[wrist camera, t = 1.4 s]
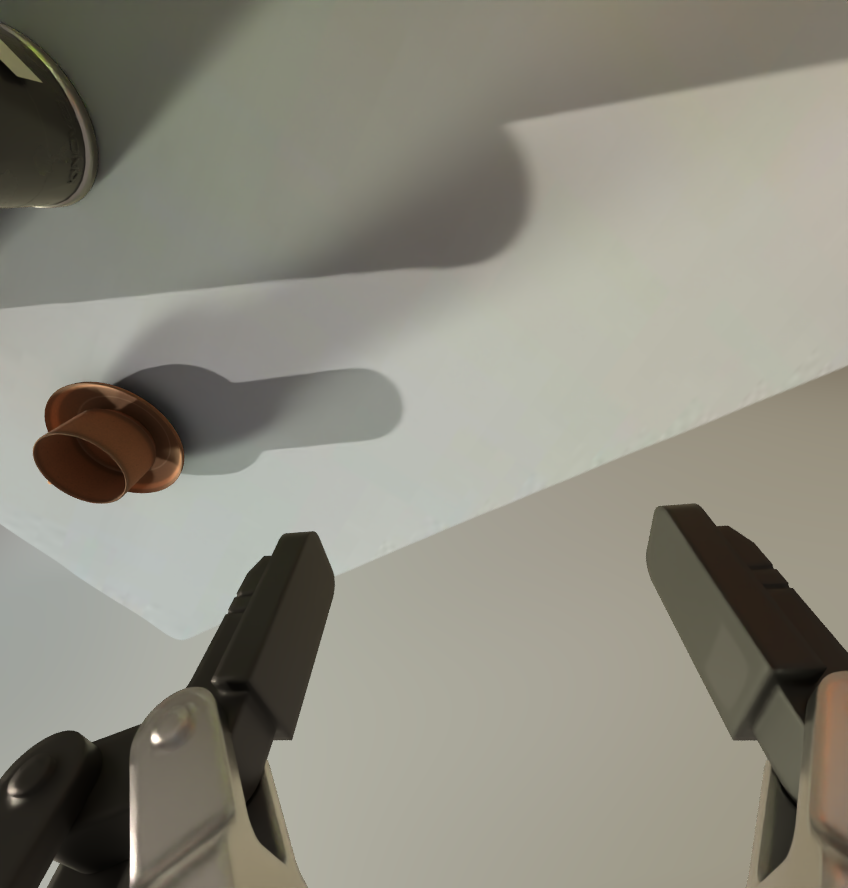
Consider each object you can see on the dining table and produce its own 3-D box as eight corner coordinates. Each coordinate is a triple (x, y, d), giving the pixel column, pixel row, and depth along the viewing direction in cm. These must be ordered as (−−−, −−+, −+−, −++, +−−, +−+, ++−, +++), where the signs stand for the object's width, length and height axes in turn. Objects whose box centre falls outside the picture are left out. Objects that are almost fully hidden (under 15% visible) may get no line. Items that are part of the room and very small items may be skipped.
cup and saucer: (161, 499, 43) (122, 542, 38) (44, 430, 39) (-17, 468, 34) (215, 433, 38) (179, 472, 33) (88, 346, 34) (25, 375, 29)
